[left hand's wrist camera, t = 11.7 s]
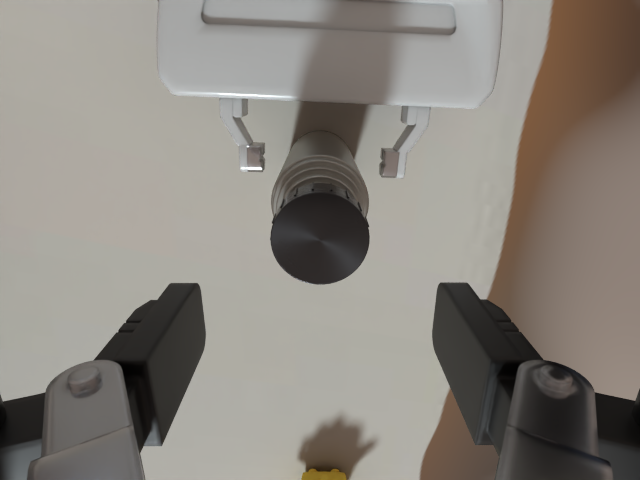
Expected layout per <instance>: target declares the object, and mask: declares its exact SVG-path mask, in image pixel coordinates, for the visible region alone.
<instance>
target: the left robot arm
mask: <svg viewBox="0 0 640 480" xmlns="http://www.w3.org/2000/svg"><path fill="white" fill-rule="evenodd" d="M205 338H206V331H205V322H204V314H203V305H202V297H201V290H200V286H199V284H198V283H171V284H169V285H168V287H167V288H166V289H165V291H164V292H163V293H162V295H161V296H160V297H159V298H158V300H150V301H149V302H147V303H145V304H144V305H142V306H141V307H139V308H137V309H136V310H135V311H134V312H133V313H132V314H131V316H130V317H129V318H128V319H127V321H126V323H124V324H123V325H122V327H121V328H120V329H119V332H118V333H116V334H115V335H114V336H113V337H112V339H111V340H110V341H109V342H108V344H107V345H106V346H105V347H104V348H103V350H102V351H101V352H100V353H99V354H98V356H97V357H96V358H95V359H94V360H93V361H89V362H84V363H81V364H78V365H76V366H73V367H71V368H69V369H67V370H65V371H64V372H62V373H61V374H59V375H58V376H57V377H55V378H54V379H53V380H52V381H51V382H50V384H49V385H48V387H47V389H46V392H45V393H41V394H37V395H33V396H28V397H23V398H18V399H14V400H9V401H4V402H3V401H2V398H1V395H0V480H145V475H144V470H143V465H142V461H141V456H140V452H141V450H142V448H143V446H162V444H163V442H164V440H165V438H166V435H167V433H168V431H169V428H170V426H171V424H172V422H173V419H174V417H175V415H176V413H177V410H178V408H179V406H180V403H181V401H182V399H183V397H184V394H185V392H186V390H187V388H188V385H189V383H190V381H191V378H192V376H193V374H194V372H195V369H196V367H197V365H198V363H199V360H200V358H201V356H202V353H203V351H204V347H205ZM432 338H433V346H434V350H435V353H436V355H437V358H438V360H439V362H440V365H441V367H442V369H443V371H444V374H445V376H446V378H447V381H448V383H449V385H450V388H451V390H452V392H453V394H454V397H455V399H456V401H457V404H458V406H459V408H460V411H461V413H462V415H463V418H464V420H465V422H466V425H467V427H468V429H469V431H470V434H471V436H472V438H473V441H474V443H475V445H494V447H495V449H496V451H497V453H498V456H499V461H498V465H497V470H496V475H495V480H640V390H639V392H638V395H637V398H636V401H633V400H628V399H623V398H618V397H614V396H609V395H604V394H599V393H595V392H594V389H593V387H592V385H591V384H590V383H589V381H588V380H587V379H586V378H585V377H583V376H582V375H581V374H579V373H578V372H576V371H575V370H573V369H571V368H569V367H567V366H564V365H562V364H559V363H556V362H551V361H546V360H543V359H542V357H541V356H540V355H539V354H538V353H537V351H536V350H535V349H534V348H533V346H532V345H531V344H530V343H529V342H528V340H527V339H526V338H525V337H524V335H523V334H522V333H521V332H519V329H518V328H517V327H516V326H515V324H514V323H512V322H511V320H510V318H509V317H508V316H507V315H506V313H505V312H504V311H503V310H502V309H501V308H499V307H498V306H496V305H495V304H493V303H492V302H490V301H488V300H480V299H479V297H478V296H477V295H476V293H475V292H474V291H473V289H472V288H471V287H470V285H469V284H468V283H440V284H439V285H438V289H437V295H436V304H435V313H434V321H433V330H432Z"/></svg>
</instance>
